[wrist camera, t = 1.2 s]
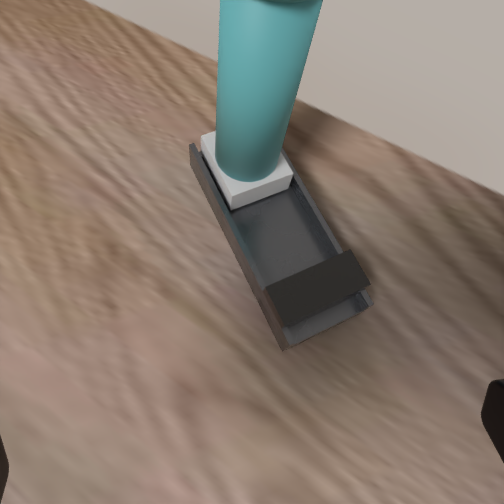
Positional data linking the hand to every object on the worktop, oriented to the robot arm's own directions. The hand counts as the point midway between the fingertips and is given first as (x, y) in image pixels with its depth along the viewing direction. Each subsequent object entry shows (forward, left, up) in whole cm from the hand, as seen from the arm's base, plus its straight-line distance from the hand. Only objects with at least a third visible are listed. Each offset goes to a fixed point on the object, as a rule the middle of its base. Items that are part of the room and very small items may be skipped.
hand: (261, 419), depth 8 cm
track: (+8, -6, -13) cm, 17 cm away
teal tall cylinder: (+12, -6, -12) cm, 18 cm away
